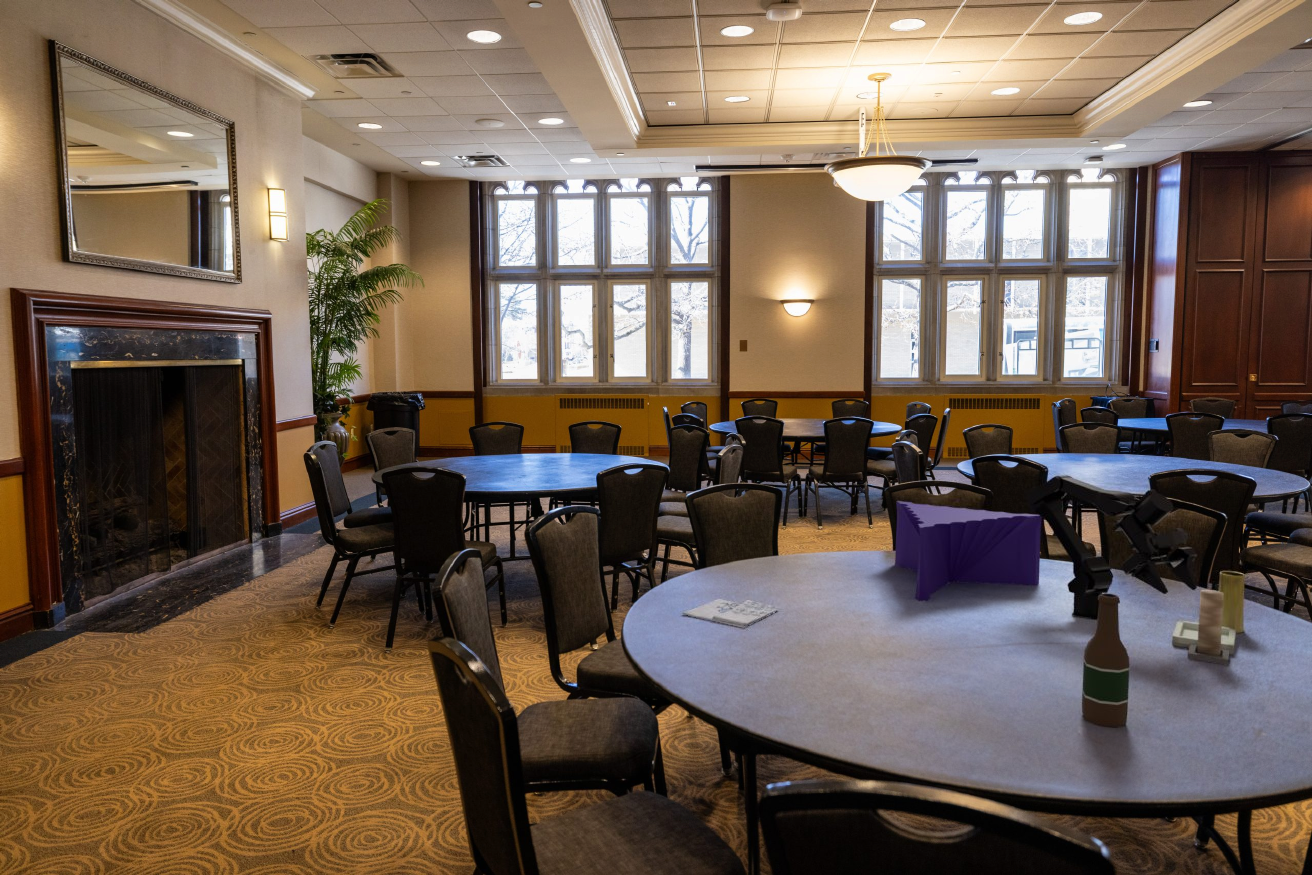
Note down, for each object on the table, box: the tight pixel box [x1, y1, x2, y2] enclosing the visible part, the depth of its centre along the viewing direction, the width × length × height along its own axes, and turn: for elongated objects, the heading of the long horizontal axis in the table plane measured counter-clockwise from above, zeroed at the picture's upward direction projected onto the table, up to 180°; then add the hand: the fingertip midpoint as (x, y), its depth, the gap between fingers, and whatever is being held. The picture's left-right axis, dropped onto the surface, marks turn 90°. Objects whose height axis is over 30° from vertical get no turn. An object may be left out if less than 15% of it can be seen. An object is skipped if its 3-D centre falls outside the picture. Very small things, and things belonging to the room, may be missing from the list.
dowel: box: [1196, 589, 1224, 657], centre depth 193 cm, size 4×4×15 cm
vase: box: [1217, 570, 1246, 634], centre depth 212 cm, size 6×6×14 cm
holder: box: [1187, 644, 1230, 666], centre depth 194 cm, size 8×8×1 cm
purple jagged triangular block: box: [894, 500, 1043, 602], centre depth 255 cm, size 40×45×21 cm
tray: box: [1171, 619, 1237, 656], centre depth 204 cm, size 12×15×2 cm
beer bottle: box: [1081, 592, 1130, 728], centre depth 160 cm, size 8×8×24 cm
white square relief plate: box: [682, 598, 781, 629], centre depth 230 cm, size 19×20×2 cm
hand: (1180, 591), depth 200 cm, fingers open, 9 cm apart
